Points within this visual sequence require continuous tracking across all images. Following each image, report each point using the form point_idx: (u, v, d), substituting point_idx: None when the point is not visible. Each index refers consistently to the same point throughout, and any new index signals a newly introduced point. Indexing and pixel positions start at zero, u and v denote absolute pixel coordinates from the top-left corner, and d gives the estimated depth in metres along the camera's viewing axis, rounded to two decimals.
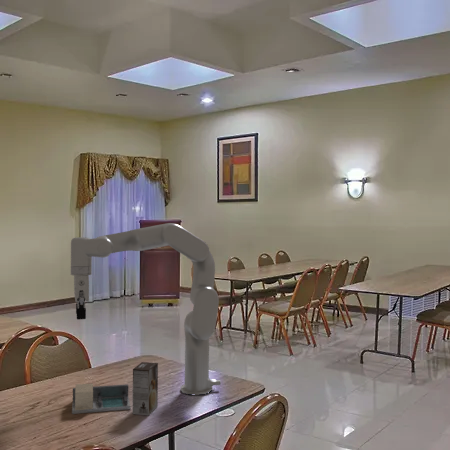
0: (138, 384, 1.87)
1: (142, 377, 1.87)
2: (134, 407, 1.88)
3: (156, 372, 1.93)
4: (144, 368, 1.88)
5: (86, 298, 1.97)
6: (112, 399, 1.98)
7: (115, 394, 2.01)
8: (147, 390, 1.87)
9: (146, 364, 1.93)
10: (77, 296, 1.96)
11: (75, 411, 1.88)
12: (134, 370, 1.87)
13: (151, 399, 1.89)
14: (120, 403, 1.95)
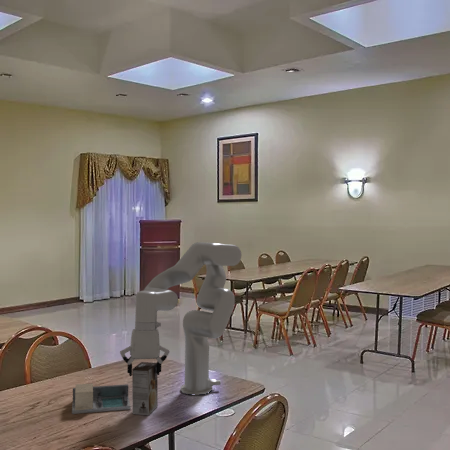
0: (138, 384, 1.87)
1: (142, 377, 1.87)
2: (134, 407, 1.88)
3: None
4: (144, 368, 1.88)
5: None
6: (112, 399, 1.98)
7: (115, 394, 2.01)
8: (147, 389, 1.87)
9: (145, 363, 1.93)
10: (159, 351, 1.91)
11: (75, 411, 1.88)
12: (134, 370, 1.87)
13: (151, 399, 1.89)
14: (120, 403, 1.95)
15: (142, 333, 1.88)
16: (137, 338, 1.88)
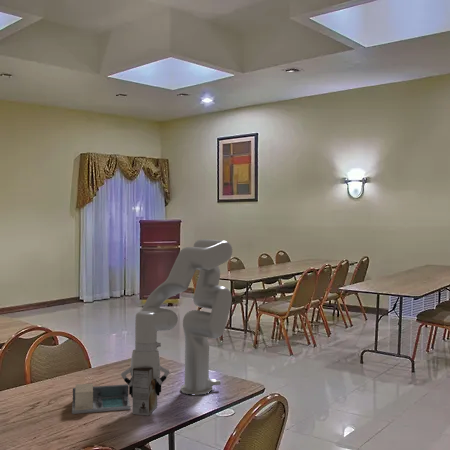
0: (138, 384, 1.87)
1: (142, 377, 1.87)
2: (134, 407, 1.88)
3: None
4: (144, 368, 1.88)
5: None
6: (112, 399, 1.98)
7: (115, 394, 2.01)
8: (147, 390, 1.87)
9: None
10: None
11: (75, 411, 1.88)
12: (134, 370, 1.87)
13: (151, 399, 1.89)
14: (120, 403, 1.95)
15: (142, 354, 1.88)
16: (138, 359, 1.88)
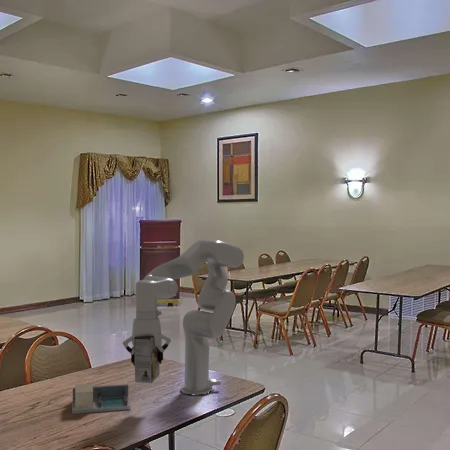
0: (140, 352, 1.87)
1: (144, 345, 1.87)
2: (136, 375, 1.88)
3: None
4: (145, 336, 1.88)
5: None
6: (112, 399, 1.98)
7: (115, 394, 2.01)
8: (149, 358, 1.87)
9: None
10: (161, 339, 1.91)
11: (75, 411, 1.88)
12: (135, 338, 1.87)
13: (153, 367, 1.89)
14: (120, 403, 1.95)
15: (143, 322, 1.88)
16: (139, 328, 1.88)
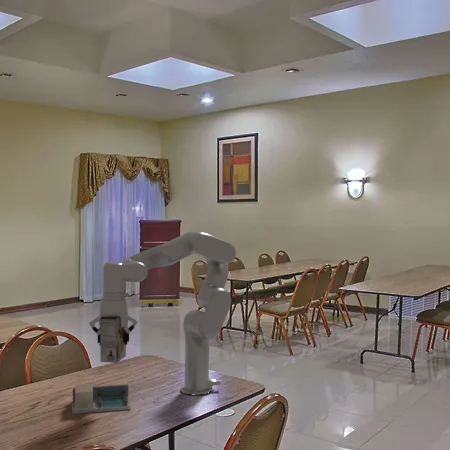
0: (106, 332, 1.91)
1: (109, 325, 1.90)
2: (102, 355, 1.91)
3: None
4: (112, 317, 1.92)
5: None
6: (112, 399, 1.98)
7: (115, 394, 2.01)
8: (115, 338, 1.90)
9: None
10: (127, 321, 1.95)
11: (75, 411, 1.88)
12: (102, 318, 1.91)
13: (119, 348, 1.93)
14: (120, 403, 1.95)
15: (110, 303, 1.92)
16: (105, 308, 1.92)
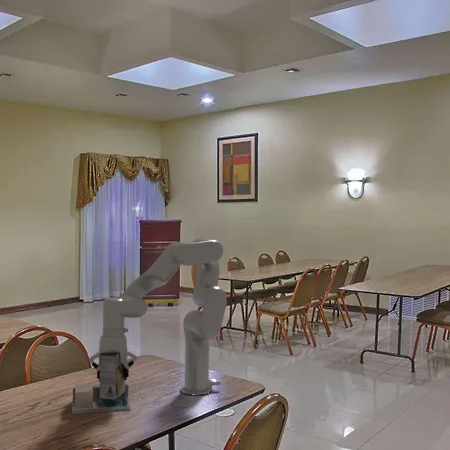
0: (105, 369, 1.91)
1: (109, 362, 1.91)
2: (101, 391, 1.92)
3: None
4: (111, 353, 1.92)
5: None
6: (112, 399, 1.98)
7: None
8: (114, 374, 1.90)
9: None
10: (127, 356, 1.95)
11: (75, 411, 1.88)
12: (101, 355, 1.91)
13: (118, 384, 1.93)
14: (120, 403, 1.95)
15: (109, 339, 1.92)
16: (105, 344, 1.92)
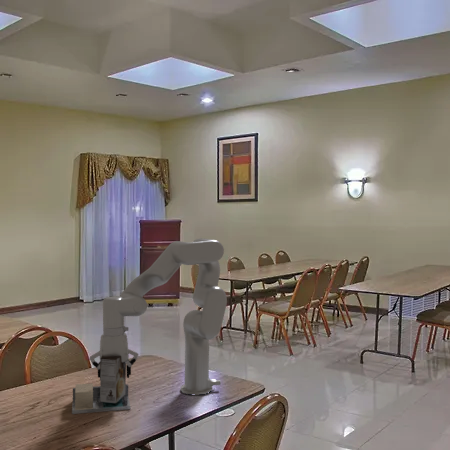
0: (106, 372, 1.91)
1: (110, 365, 1.91)
2: (102, 395, 1.92)
3: None
4: (112, 357, 1.92)
5: None
6: None
7: None
8: (115, 378, 1.90)
9: None
10: (128, 355, 1.95)
11: (75, 411, 1.88)
12: (102, 359, 1.91)
13: (119, 387, 1.93)
14: (120, 403, 1.95)
15: (110, 338, 1.92)
16: (106, 344, 1.92)
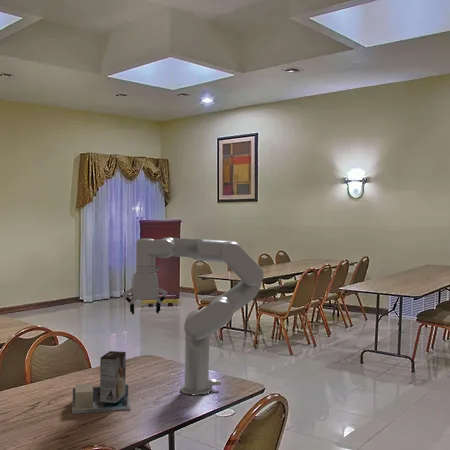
0: (106, 372, 1.91)
1: (109, 365, 1.91)
2: (101, 395, 1.92)
3: (124, 361, 1.97)
4: (111, 356, 1.92)
5: None
6: None
7: None
8: (115, 378, 1.91)
9: (113, 352, 1.97)
10: (158, 292, 2.12)
11: (75, 411, 1.88)
12: (102, 358, 1.91)
13: (119, 387, 1.93)
14: (120, 403, 1.95)
15: (142, 276, 2.09)
16: (138, 280, 2.09)
